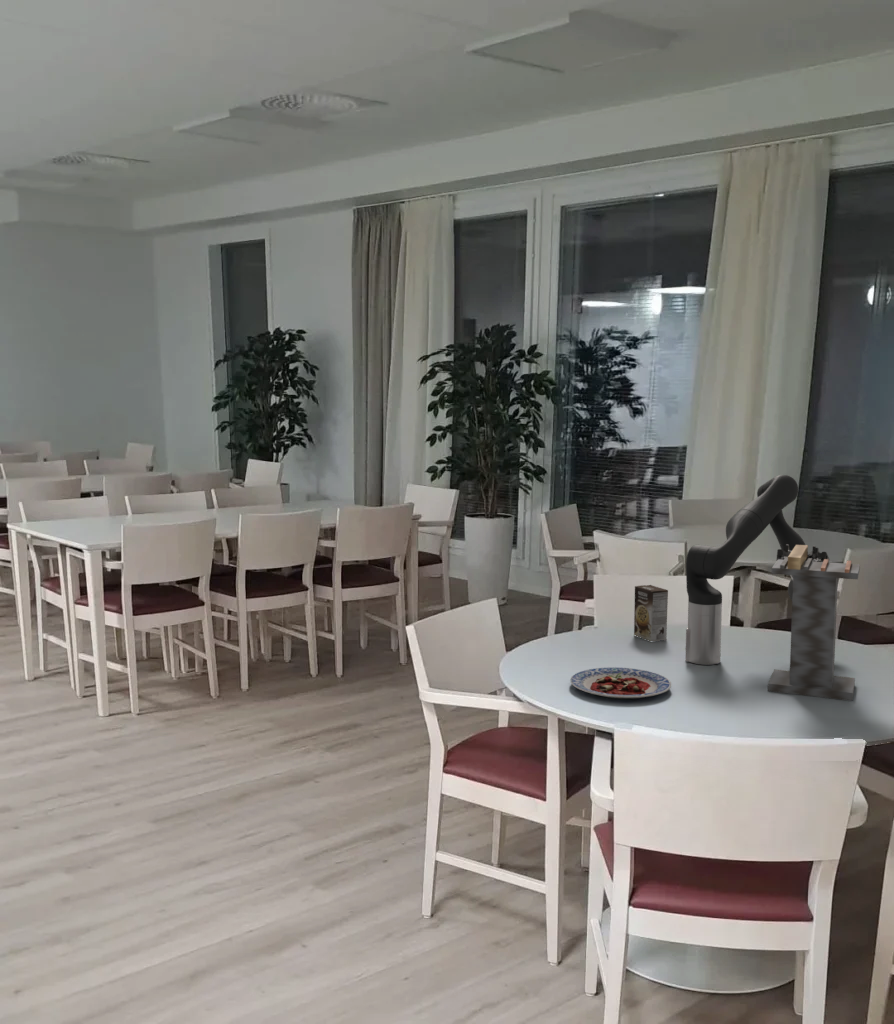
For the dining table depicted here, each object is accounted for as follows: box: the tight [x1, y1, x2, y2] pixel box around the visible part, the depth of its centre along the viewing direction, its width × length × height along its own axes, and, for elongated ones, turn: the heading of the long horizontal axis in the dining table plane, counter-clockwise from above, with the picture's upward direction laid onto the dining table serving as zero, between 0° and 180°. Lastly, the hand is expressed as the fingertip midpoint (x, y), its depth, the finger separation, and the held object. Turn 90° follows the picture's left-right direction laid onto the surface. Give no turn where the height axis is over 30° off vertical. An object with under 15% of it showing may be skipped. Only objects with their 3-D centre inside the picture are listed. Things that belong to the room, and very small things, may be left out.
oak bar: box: [787, 544, 809, 570], centre depth 248 cm, size 3×22×3 cm, turn 155°
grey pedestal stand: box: [767, 557, 861, 702], centre depth 244 cm, size 20×14×33 cm
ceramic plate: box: [569, 666, 672, 700], centre depth 247 cm, size 26×26×3 cm
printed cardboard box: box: [633, 584, 669, 642], centre depth 297 cm, size 9×6×16 cm
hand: (800, 548), depth 253 cm, fingers open, 6 cm apart
